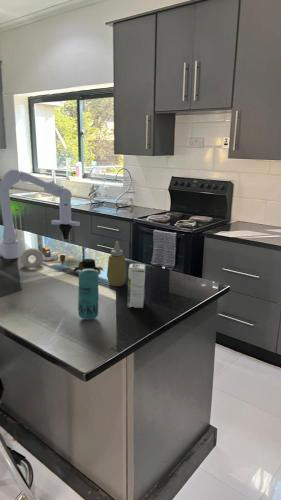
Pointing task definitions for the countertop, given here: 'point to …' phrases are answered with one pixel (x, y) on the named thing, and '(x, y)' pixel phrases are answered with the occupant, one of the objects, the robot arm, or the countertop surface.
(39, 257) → the donut
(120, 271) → the squeeze bottle
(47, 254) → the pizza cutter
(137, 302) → the syrup box
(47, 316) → the countertop surface
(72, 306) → the countertop surface
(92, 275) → the beverage bottle
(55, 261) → the board
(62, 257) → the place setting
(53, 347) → the countertop surface
